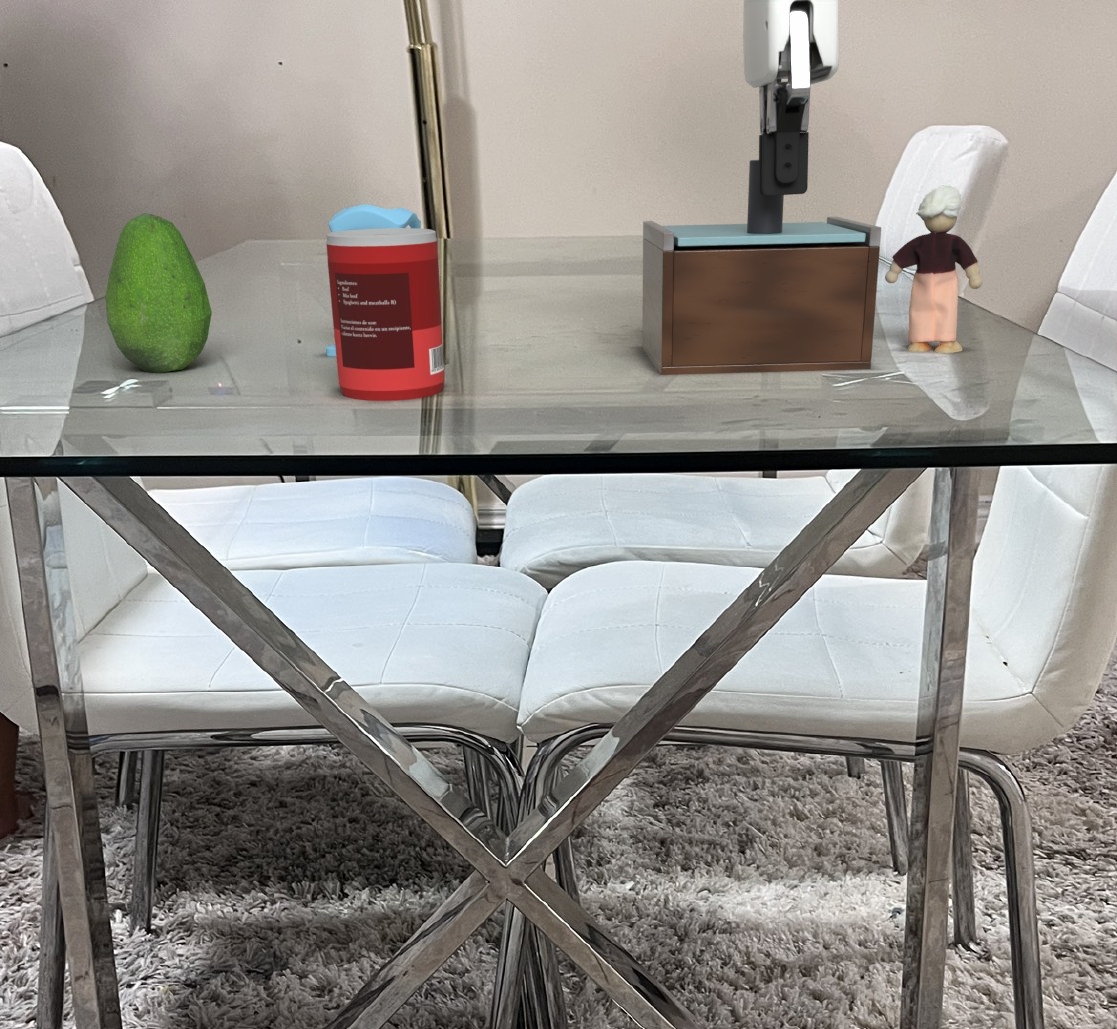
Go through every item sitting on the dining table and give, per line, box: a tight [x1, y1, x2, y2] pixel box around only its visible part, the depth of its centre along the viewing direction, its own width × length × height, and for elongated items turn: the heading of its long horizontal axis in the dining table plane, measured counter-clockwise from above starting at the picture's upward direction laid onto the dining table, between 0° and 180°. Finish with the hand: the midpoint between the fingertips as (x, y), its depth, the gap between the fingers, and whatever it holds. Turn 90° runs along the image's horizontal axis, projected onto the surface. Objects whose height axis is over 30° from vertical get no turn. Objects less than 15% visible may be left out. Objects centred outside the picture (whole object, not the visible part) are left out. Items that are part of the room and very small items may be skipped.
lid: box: [661, 159, 866, 246], centre depth 103 cm, size 14×14×6 cm
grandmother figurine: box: [884, 184, 983, 354], centre depth 107 cm, size 8×4×13 cm, turn 72°
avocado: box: [104, 212, 213, 374], centre depth 105 cm, size 8×8×12 cm
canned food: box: [325, 227, 445, 402], centre depth 94 cm, size 8×8×11 cm
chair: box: [325, 204, 422, 357], centre depth 113 cm, size 8×8×12 cm
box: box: [641, 216, 882, 376], centre depth 106 cm, size 16×14×10 cm
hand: (782, 194), depth 96 cm, fingers closed
